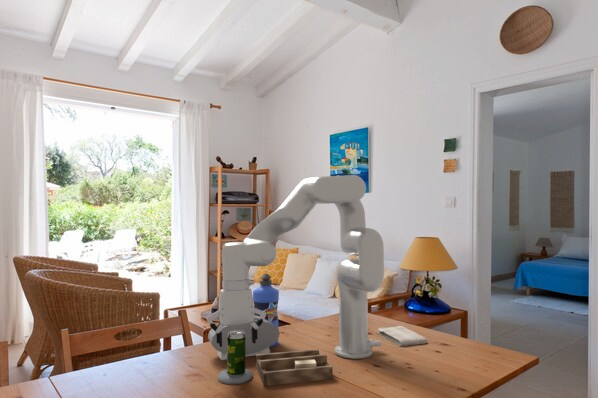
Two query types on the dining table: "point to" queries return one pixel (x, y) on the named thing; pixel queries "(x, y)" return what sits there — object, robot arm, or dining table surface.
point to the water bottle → (267, 300)
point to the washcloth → (401, 336)
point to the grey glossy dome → (227, 379)
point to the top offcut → (305, 363)
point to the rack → (292, 367)
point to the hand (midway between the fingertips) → (237, 343)
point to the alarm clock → (248, 338)
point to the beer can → (236, 353)
